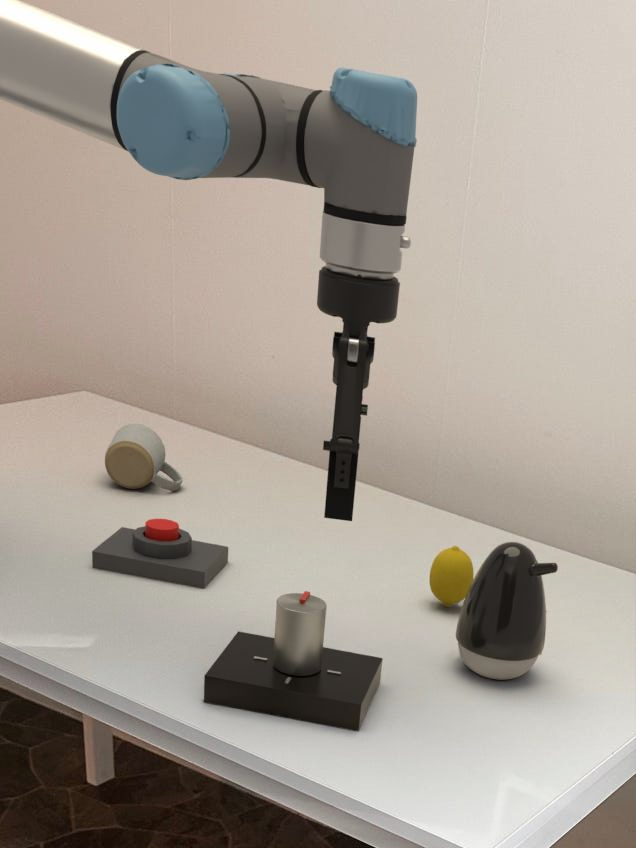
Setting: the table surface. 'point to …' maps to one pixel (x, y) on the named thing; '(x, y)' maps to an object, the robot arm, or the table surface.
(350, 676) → the dial panel
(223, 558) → the button block
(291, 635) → the dial
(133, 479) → the ceramic mug
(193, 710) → the table surface
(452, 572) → the lemon
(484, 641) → the pump dispenser
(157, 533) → the power button
